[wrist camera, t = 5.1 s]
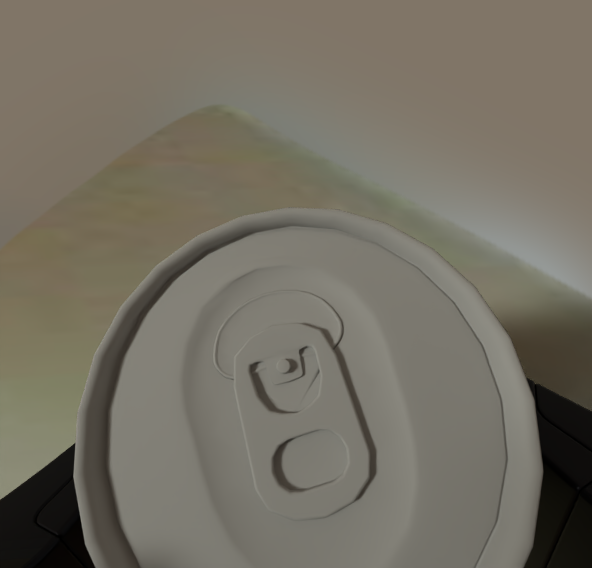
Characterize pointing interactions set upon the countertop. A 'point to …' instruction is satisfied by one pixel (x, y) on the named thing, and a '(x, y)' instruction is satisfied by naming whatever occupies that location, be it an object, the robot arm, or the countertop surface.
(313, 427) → the beverage can
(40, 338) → the countertop surface
